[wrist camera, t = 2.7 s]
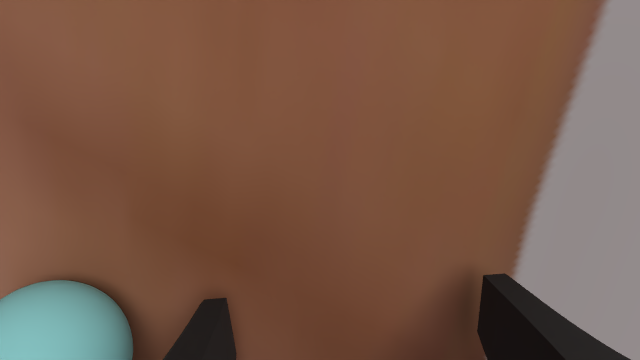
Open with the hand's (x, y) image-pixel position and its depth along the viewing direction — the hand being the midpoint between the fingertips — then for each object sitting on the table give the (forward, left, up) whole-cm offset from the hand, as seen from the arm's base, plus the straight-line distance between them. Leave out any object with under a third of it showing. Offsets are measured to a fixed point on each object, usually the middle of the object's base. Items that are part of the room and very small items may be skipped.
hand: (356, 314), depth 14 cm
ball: (0, +8, -1) cm, 8 cm away
